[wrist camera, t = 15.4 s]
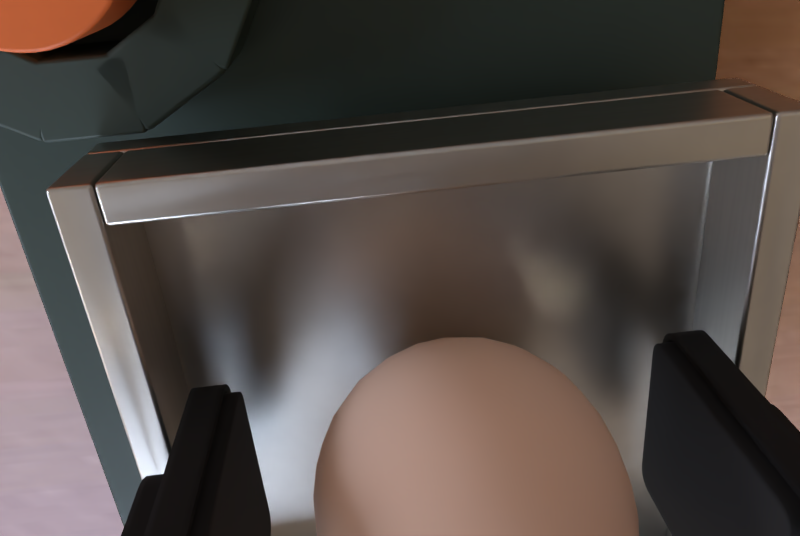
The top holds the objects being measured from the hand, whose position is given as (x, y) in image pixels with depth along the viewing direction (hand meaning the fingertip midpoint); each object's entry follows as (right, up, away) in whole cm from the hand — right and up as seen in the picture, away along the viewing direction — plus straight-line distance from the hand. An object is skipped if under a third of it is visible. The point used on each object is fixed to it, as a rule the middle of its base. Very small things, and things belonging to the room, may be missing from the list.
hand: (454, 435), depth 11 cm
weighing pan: (0, +1, +2) cm, 2 cm away
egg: (0, +1, +1) cm, 1 cm away
